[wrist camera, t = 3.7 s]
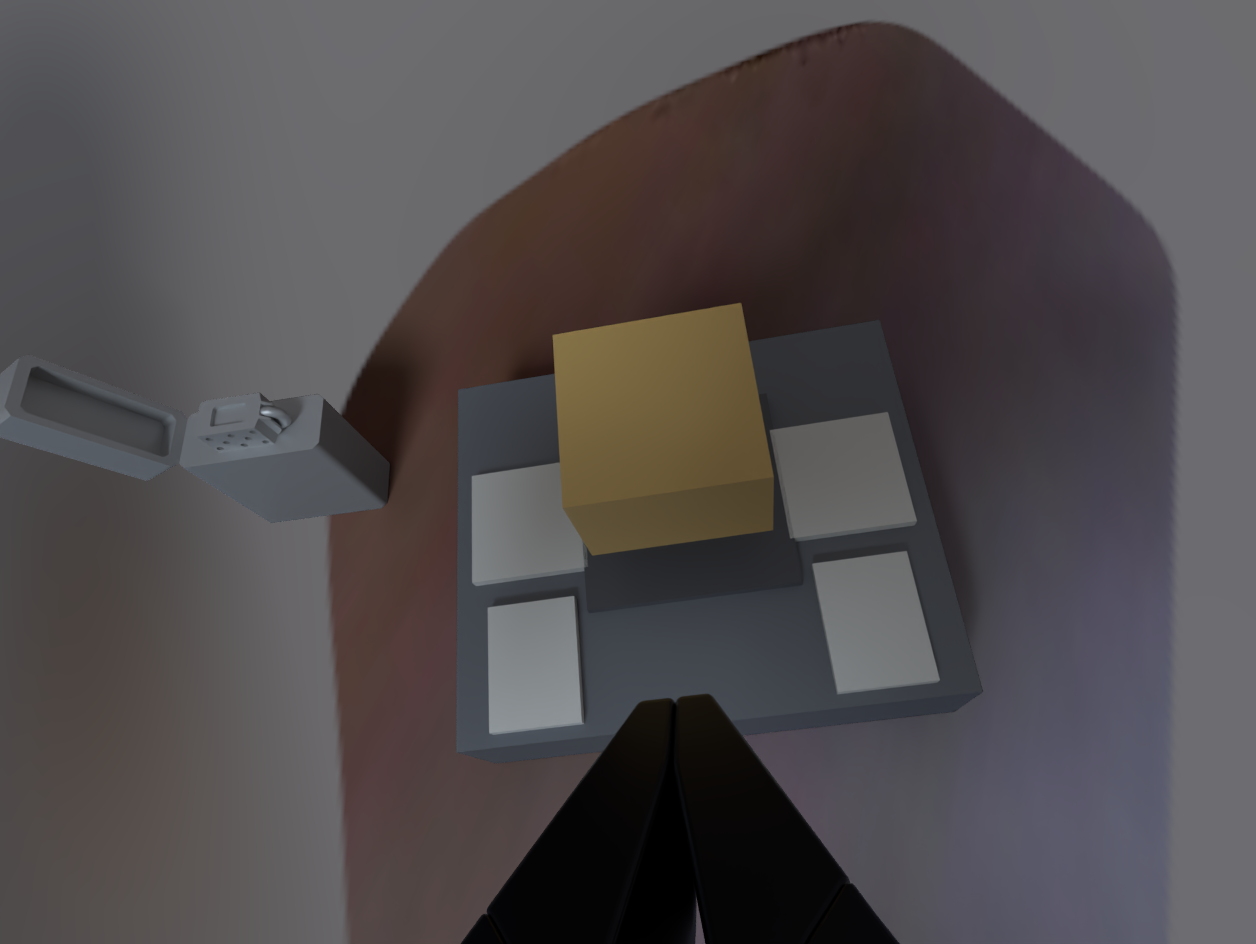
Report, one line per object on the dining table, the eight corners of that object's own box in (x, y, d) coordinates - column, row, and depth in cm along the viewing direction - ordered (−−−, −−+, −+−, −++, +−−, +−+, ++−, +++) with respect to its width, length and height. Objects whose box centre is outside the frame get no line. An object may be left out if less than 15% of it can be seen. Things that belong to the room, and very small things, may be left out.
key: (773, 530, 17) (773, 477, 15) (591, 555, 18) (562, 507, 15) (744, 374, 19) (741, 302, 16) (580, 400, 19) (552, 335, 17)
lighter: (390, 458, 26) (244, 314, 19) (387, 507, 25) (234, 376, 18) (190, 487, 27) (-22, 358, 20) (182, 535, 26) (-42, 420, 19)
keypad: (954, 711, 20) (986, 689, 17) (495, 763, 21) (451, 751, 18) (867, 377, 24) (880, 313, 21) (491, 437, 26) (454, 384, 23)
